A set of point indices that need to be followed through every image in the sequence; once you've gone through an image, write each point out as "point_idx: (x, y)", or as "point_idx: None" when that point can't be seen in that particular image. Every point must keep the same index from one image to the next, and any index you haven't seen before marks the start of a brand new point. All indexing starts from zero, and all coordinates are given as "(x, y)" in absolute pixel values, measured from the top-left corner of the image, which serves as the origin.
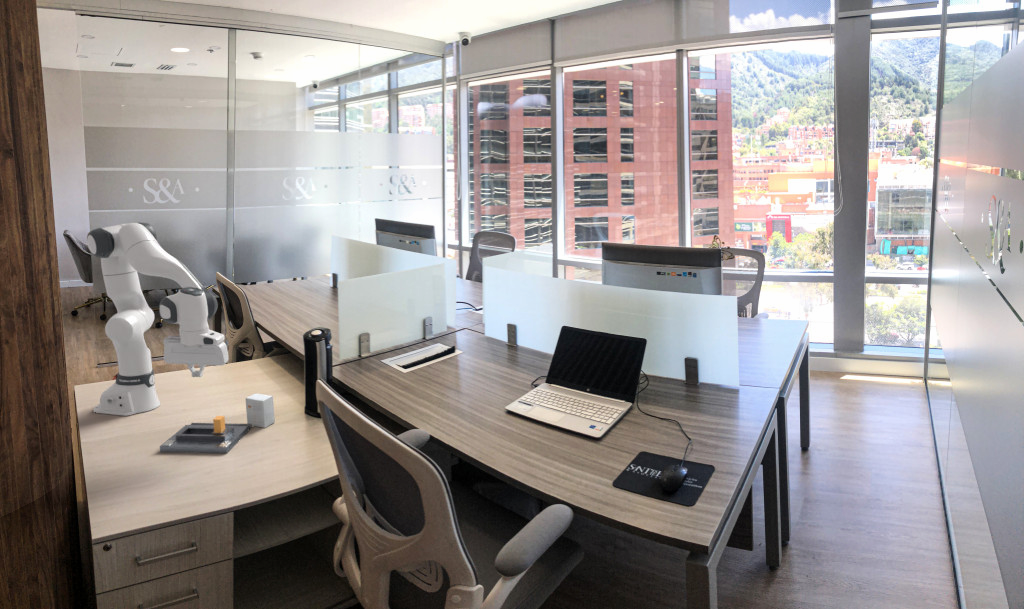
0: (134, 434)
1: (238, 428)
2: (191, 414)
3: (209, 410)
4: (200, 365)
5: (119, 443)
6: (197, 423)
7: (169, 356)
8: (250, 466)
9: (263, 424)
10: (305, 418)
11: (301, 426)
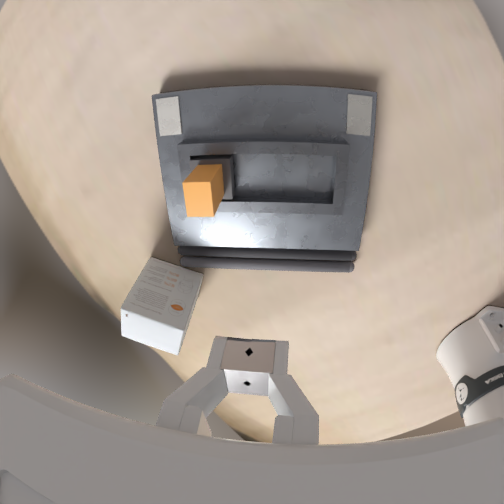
0: (469, 217)
1: (190, 229)
2: (369, 323)
3: (335, 341)
4: (179, 423)
5: (487, 164)
6: (332, 267)
7: (490, 486)
8: (73, 44)
9: (151, 262)
10: (104, 300)
11: (86, 264)
